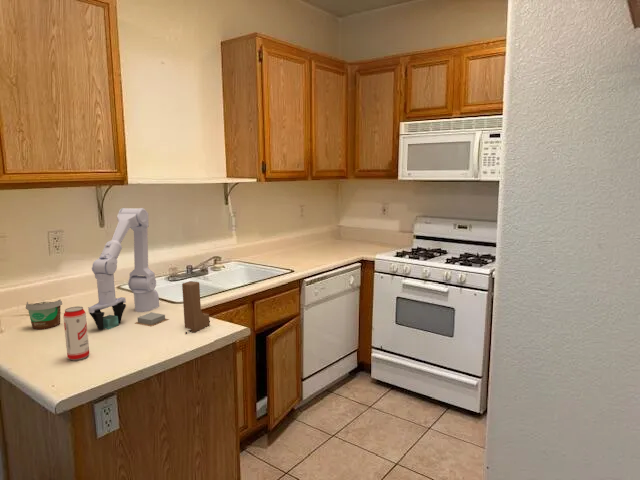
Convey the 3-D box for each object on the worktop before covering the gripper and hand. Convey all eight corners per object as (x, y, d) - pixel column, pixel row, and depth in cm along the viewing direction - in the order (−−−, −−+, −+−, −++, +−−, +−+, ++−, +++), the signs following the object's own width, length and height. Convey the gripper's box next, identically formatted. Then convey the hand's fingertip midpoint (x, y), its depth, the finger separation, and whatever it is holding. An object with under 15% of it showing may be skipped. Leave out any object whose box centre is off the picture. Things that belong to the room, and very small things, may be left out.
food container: (22, 332, 168) (19, 306, 166) (28, 327, 174) (25, 301, 172) (60, 328, 171) (57, 303, 169) (64, 323, 177) (61, 298, 175)
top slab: (151, 317, 179) (151, 312, 179) (165, 319, 176) (164, 314, 176) (137, 322, 173) (137, 317, 172) (151, 325, 170) (151, 320, 169)
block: (110, 327, 172) (109, 314, 171) (118, 329, 170) (117, 316, 169) (100, 331, 168) (99, 318, 168) (108, 332, 166) (107, 319, 166)
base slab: (152, 321, 181) (152, 316, 180) (169, 324, 177) (169, 319, 176) (134, 328, 173) (134, 323, 172) (151, 331, 169) (151, 326, 168)
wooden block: (200, 323, 175) (198, 278, 172) (210, 325, 173) (207, 279, 170) (184, 331, 167) (181, 283, 164) (194, 332, 165) (191, 284, 162)
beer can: (93, 353, 147) (88, 305, 145) (84, 361, 141) (79, 311, 139) (73, 353, 147) (69, 306, 145) (63, 361, 141) (58, 312, 138)
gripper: (115, 285, 175) (118, 319, 177) (81, 294, 162) (84, 330, 164) (128, 287, 172) (131, 321, 174) (94, 296, 159) (98, 333, 161)
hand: (109, 326), depth 169 cm, fingers open, 7 cm apart
